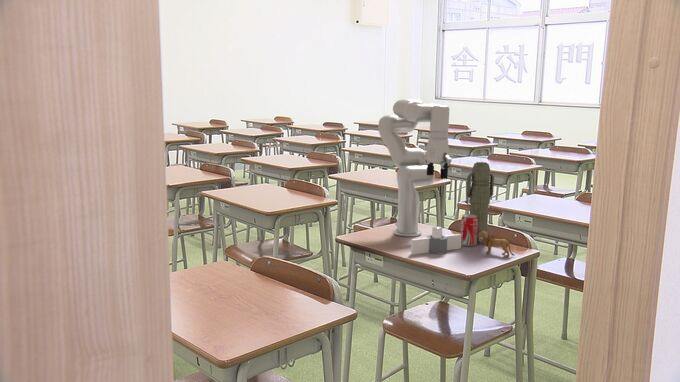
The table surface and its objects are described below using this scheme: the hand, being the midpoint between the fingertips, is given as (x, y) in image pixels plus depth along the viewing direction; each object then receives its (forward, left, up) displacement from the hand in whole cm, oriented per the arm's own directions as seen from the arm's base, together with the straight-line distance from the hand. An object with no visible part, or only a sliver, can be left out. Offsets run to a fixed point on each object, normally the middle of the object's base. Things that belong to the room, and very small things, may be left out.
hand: (436, 176), depth 236 cm
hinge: (+6, -3, -30) cm, 31 cm away
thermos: (0, +23, -30) cm, 38 cm away
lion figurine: (+19, +17, -30) cm, 39 cm away
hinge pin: (+6, -3, -30) cm, 31 cm away
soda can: (+3, +16, -30) cm, 34 cm away
